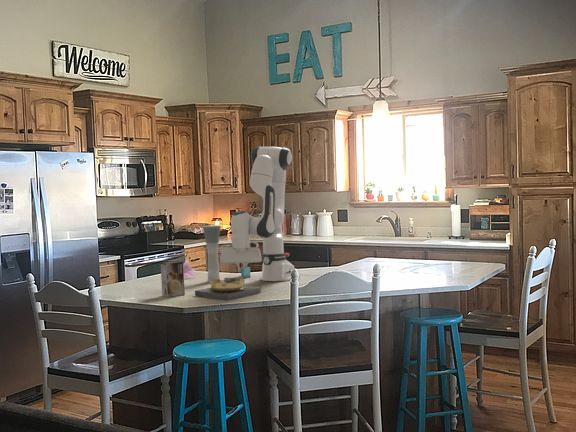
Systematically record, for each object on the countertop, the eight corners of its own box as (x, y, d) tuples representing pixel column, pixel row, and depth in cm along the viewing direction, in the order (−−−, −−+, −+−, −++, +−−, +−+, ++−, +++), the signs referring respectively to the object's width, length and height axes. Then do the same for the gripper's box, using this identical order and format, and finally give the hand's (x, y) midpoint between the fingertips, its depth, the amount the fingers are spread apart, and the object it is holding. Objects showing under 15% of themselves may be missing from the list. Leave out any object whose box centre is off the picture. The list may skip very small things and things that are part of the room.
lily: (172, 282, 361) (177, 267, 358) (171, 271, 372) (177, 257, 368) (193, 287, 365) (198, 272, 362) (192, 276, 375) (197, 262, 372)
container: (201, 282, 349) (199, 226, 347) (211, 279, 357) (209, 225, 356) (216, 283, 345) (214, 226, 343) (226, 280, 353) (224, 225, 351)
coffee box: (179, 293, 318) (177, 260, 317) (185, 294, 313) (183, 261, 312) (161, 295, 313) (160, 262, 312) (167, 297, 308) (166, 263, 307)
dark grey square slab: (228, 288, 326) (227, 283, 326) (260, 292, 312) (260, 287, 311) (195, 295, 309) (194, 290, 309) (227, 300, 295) (227, 294, 295)
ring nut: (229, 292, 299) (228, 274, 298) (203, 289, 309) (202, 272, 308) (262, 284, 318) (261, 267, 317) (237, 282, 328) (236, 266, 327)
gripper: (219, 245, 316) (220, 273, 317) (261, 243, 319) (262, 272, 320) (219, 244, 323) (220, 272, 323) (260, 242, 325) (261, 270, 326)
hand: (241, 272), depth 321 cm, fingers closed
